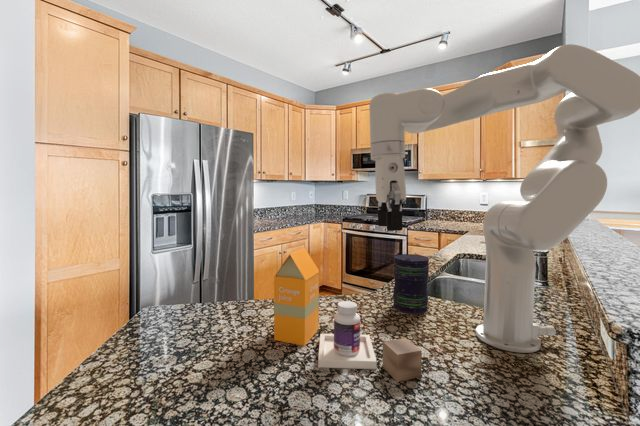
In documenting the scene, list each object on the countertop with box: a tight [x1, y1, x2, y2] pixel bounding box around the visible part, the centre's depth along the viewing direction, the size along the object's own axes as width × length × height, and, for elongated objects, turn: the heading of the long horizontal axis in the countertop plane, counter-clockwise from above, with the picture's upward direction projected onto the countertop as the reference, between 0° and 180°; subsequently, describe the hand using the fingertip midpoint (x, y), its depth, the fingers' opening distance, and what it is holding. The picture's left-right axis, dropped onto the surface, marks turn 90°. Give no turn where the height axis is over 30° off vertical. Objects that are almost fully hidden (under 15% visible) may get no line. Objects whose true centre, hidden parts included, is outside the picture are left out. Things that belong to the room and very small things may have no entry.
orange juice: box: [273, 247, 320, 347], centre depth 71 cm, size 8×9×20 cm
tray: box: [317, 333, 378, 370], centre depth 63 cm, size 11×11×2 cm
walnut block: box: [382, 337, 423, 383], centre depth 56 cm, size 5×5×5 cm
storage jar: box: [392, 253, 430, 315], centre depth 89 cm, size 10×10×15 cm
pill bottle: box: [333, 300, 361, 356], centre depth 63 cm, size 5×5×10 cm
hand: (389, 228), depth 69 cm, fingers open, 9 cm apart
